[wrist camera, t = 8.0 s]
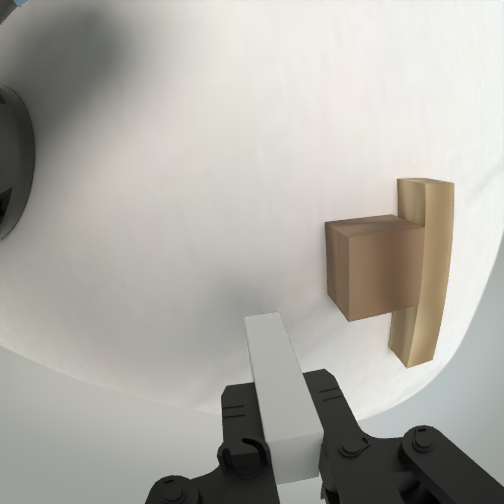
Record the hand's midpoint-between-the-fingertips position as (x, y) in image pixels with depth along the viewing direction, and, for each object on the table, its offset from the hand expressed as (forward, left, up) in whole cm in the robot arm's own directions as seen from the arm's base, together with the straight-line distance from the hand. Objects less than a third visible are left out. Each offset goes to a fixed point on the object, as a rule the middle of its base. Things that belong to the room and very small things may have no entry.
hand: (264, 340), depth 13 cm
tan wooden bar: (+14, -3, -11) cm, 18 cm away
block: (+9, -1, -11) cm, 14 cm away
